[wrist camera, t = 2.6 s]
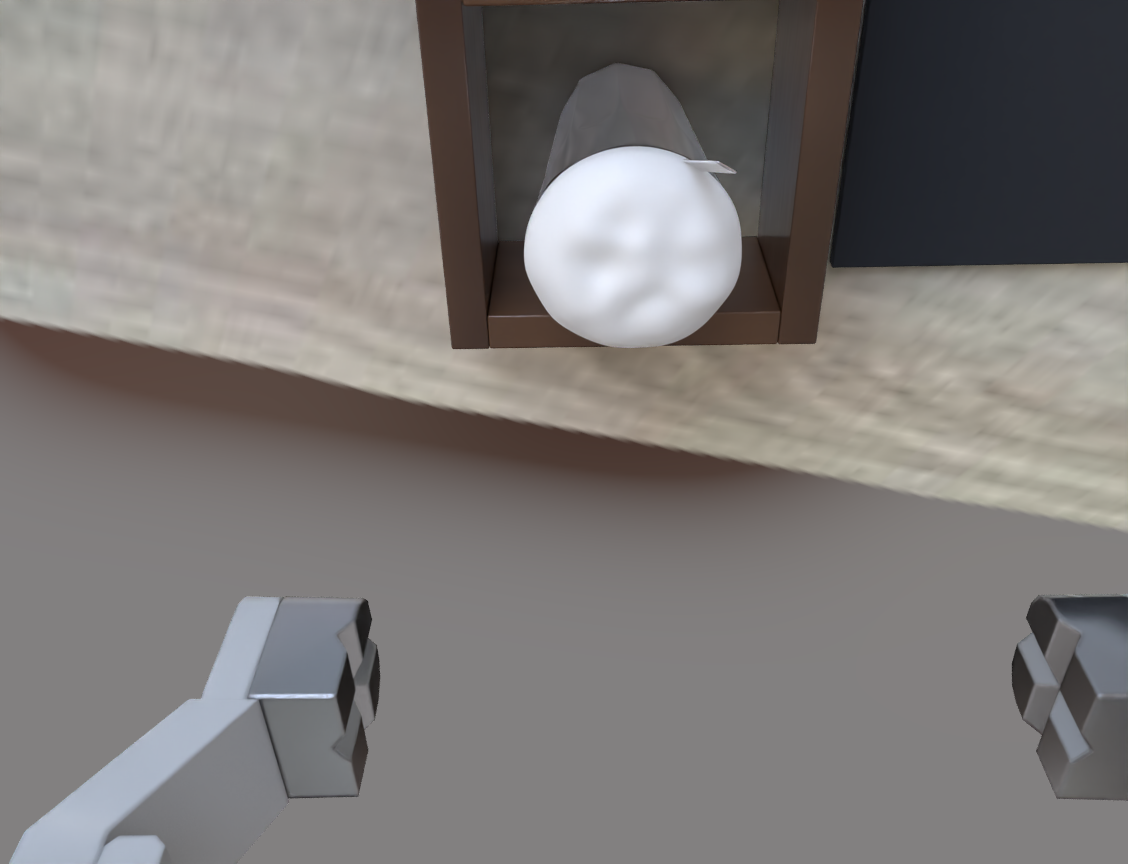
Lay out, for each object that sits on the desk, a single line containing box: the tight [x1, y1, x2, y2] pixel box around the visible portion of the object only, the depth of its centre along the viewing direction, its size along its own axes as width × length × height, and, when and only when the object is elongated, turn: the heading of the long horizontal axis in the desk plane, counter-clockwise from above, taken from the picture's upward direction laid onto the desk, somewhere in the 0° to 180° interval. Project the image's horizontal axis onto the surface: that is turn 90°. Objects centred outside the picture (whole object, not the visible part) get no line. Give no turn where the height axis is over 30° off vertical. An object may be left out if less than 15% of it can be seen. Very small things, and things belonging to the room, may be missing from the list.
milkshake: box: [524, 62, 742, 348], centre depth 24 cm, size 5×5×10 cm
